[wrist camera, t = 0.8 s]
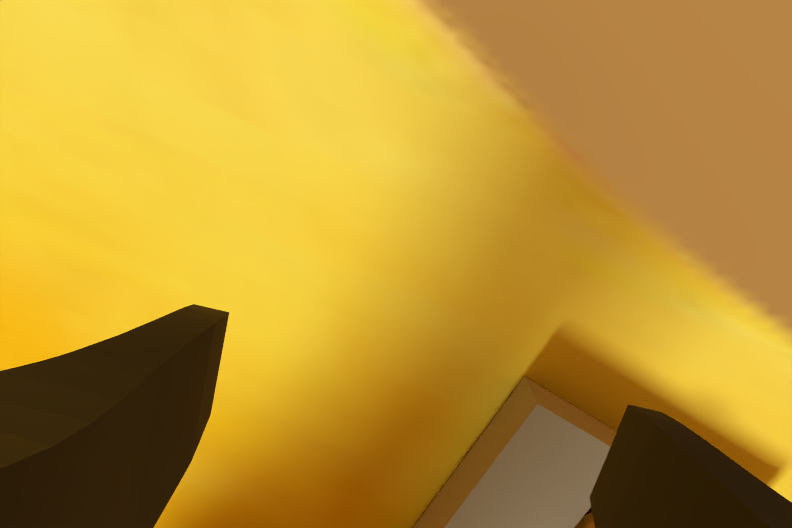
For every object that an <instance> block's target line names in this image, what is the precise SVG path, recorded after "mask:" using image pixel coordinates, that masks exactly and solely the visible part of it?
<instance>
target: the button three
mask: <svg viewBox="0 0 792 528" xmlns="http://www.w3.org/2000/svg"><path fill="white" fill-rule="evenodd" d="M574 528H595V526H594V520H593V514H592V512H591V513H589V514H587V515H585V516H584V517H582V519H581V520H580V521H579V522H578V524H577V525H576V526H575V527H574Z"/></svg>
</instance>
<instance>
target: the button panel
mask: <svg viewBox="0 0 792 528" xmlns="http://www.w3.org/2000/svg"><path fill="white" fill-rule="evenodd" d="M616 433H617V431H615V430H614V429H612V428H610V427H609V426H607V425H605V424H604V423H602V422H600V421H598V420H597V419H595V418H593V417H592V416H590V415H588V414H587V413H585V412H583V411H582V410H580V409H578V408H577V407H575V406H573V405H572V404H570V403H568V402H566V401H565V400H563V399H561V398H560V397H558V396H556V395H555V394H553V393H551V392H550V391H548V390H546V389H545V388H543V387H541V386H540V385H538V384H536V383H535V382H533V381H531V380H529V379H528V378H526V377H523V379H522V380H521V382H520V383H519V384H518V386H517V387H516V388H515V390H514V391H513V392H512V394H511V395H510V396H509V398H508V399H507V401H506V402H505V403H504V405H503V406H502V407H501V409H500V410H499V411H498V413H497V414H496V415H495V417H494V418H493V420H492V421H491V422H490V424H489V425H488V426H487V428H486V429H485V430H484V432H483V433H482V434H481V436H480V437H479V439H478V440H477V441H476V443H475V444H474V445H473V447H472V448H471V449H470V451H469V452H468V453H467V455H466V456H465V457H464V459H463V460H462V462H461V463H460V464H459V466H458V467H457V468H456V470H455V471H454V472H453V474H452V475H451V476H450V478H449V479H448V481H447V482H446V483H445V485H444V486H443V487H442V489H441V490H440V491H439V493H438V494H437V495H436V497H435V498H434V500H433V501H432V502H431V504H430V505H429V506H428V508H427V509H426V510H425V512H424V513H423V514H422V516H421V517H420V519H419V520H418V521H417V523H416V524H415V525H414V527H413V528H574V527H575V526H576V525H577V524H578V522H579V521H580V520H581V519H582V517H583V516H584V515H585V514H586V513H587V511H588V510H589V509H590V508H591V503H590V495H591V493H592V490H593V488H594V485H595V483H596V481H597V478H598V476H599V473H600V471H601V469H602V466H603V464H604V461H605V459H606V457H607V454H608V452H609V450H610V447H611V445H612V442H613V440H614V438H615V435H616Z"/></svg>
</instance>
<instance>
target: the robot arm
mask: <svg viewBox="0 0 792 528" xmlns="http://www.w3.org/2000/svg"><path fill="white" fill-rule="evenodd" d="M228 315H229V312H225V311H220V310H216V309H212V308H207V307H203V306H199V305H194V304H193V305H190V306H187V307H184V308H182V309H179V310H177V311H175V312H172V313H170V314H168V315H165V316H163V317H161V318H159V319H156V320H154V321H152V322H149V323H147V324H144V325H142V326H140V327H137V328H135V329H132V330H130V331H128V332H125V333H123V334H120V335H118V336H115V337H112V338H110V339H107V340H104V341H101V342H98V343H96V344H93V345H90V346H87V347H84V348H82V349H79V350H76V351H73V352H70V353H67V354H64V355H61V356H57V357H54V358H50V359H47V360H43V361H40V362H36V363H32V364H28V365H24V366H20V367H15V368H11V369H7V370H3V371H0V528H153V527H154V526H155V524H156V522H157V520H158V519H159V517H160V515H161V514H162V512H163V510H164V508H165V507H166V505H167V503H168V501H169V500H170V498H171V496H172V494H173V493H174V491H175V489H176V487H177V486H178V484H179V482H180V480H181V479H182V477H183V475H184V473H185V472H186V470H187V468H188V466H189V465H190V463H191V461H192V458H193V456H194V454H195V451H196V449H197V446H198V444H199V442H200V439H201V437H202V434H203V432H204V429H205V427H206V424H207V422H208V419H209V417H210V414H211V409H212V403H213V398H214V392H215V387H216V381H217V376H218V370H219V365H220V359H221V354H222V348H223V343H224V337H225V332H226V326H227V321H228ZM590 503H591V509H592V514H593V520H594V526H595V528H792V503H791V502H790V501H788V500H787V499H785V498H784V497H783V496H781V495H780V494H778V493H777V492H776V491H774V490H773V489H771V488H770V487H769V486H767V485H766V484H764V483H763V482H762V481H760V480H759V479H757V478H756V477H755V476H753V475H752V474H751V473H749V472H748V471H746V470H745V469H744V468H742V467H741V466H740V465H738V464H737V463H736V462H734V461H733V460H732V459H730V458H729V457H727V456H726V455H725V454H723V453H722V452H721V451H719V450H718V449H716V448H715V447H714V446H712V445H711V444H710V443H708V442H707V441H706V440H704V439H703V438H701V437H700V436H699V435H697V434H696V433H694V432H693V431H691V430H690V429H688V428H687V427H685V426H684V425H682V424H681V423H679V422H678V421H676V420H674V419H673V418H671V417H669V416H667V415H666V414H664V413H662V412H658V411H654V410H650V409H645V408H641V407H637V406H632V405H628V406H627V409H626V411H625V414H624V416H623V418H622V421H621V423H620V426H619V428H618V430H617V433H616V435H615V438H614V440H613V442H612V445H611V447H610V450H609V452H608V454H607V457H606V459H605V461H604V464H603V466H602V469H601V471H600V473H599V476H598V478H597V481H596V483H595V485H594V488H593V490H592V493H591V495H590Z"/></svg>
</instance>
